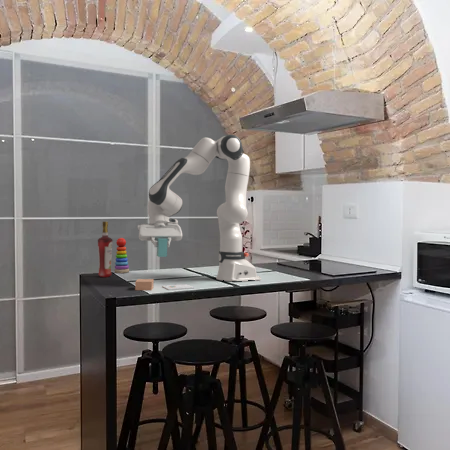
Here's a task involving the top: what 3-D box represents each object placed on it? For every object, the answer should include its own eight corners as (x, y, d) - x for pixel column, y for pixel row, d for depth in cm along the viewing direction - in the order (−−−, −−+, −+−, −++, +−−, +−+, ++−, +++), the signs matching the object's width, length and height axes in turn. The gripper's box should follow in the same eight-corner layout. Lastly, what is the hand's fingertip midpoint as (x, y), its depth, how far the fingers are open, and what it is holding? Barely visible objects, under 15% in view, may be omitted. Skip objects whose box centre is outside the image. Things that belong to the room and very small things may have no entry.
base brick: (153, 288, 212) (153, 279, 212) (151, 290, 205) (151, 281, 205) (137, 287, 212) (137, 279, 212) (135, 290, 205) (135, 281, 205)
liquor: (102, 275, 246) (102, 221, 244) (115, 276, 243) (115, 221, 242) (94, 277, 239) (94, 221, 237) (107, 278, 236) (107, 222, 235)
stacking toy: (123, 270, 263) (123, 237, 262) (132, 272, 258) (132, 238, 257) (111, 272, 257) (111, 237, 256) (120, 273, 252) (120, 238, 251)
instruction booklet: (186, 285, 220) (186, 283, 220) (194, 288, 212) (194, 286, 212) (161, 286, 215) (161, 285, 215) (168, 289, 207) (168, 288, 207)
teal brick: (165, 255, 220) (165, 238, 220) (167, 256, 216) (167, 239, 216) (156, 255, 219) (157, 238, 219) (158, 256, 215) (158, 239, 215)
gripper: (137, 219, 220) (140, 241, 211) (180, 219, 227) (185, 241, 218) (136, 228, 225) (138, 250, 216) (178, 228, 231) (182, 250, 222)
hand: (162, 246), depth 217 cm, fingers closed on teal brick, 4 cm apart
